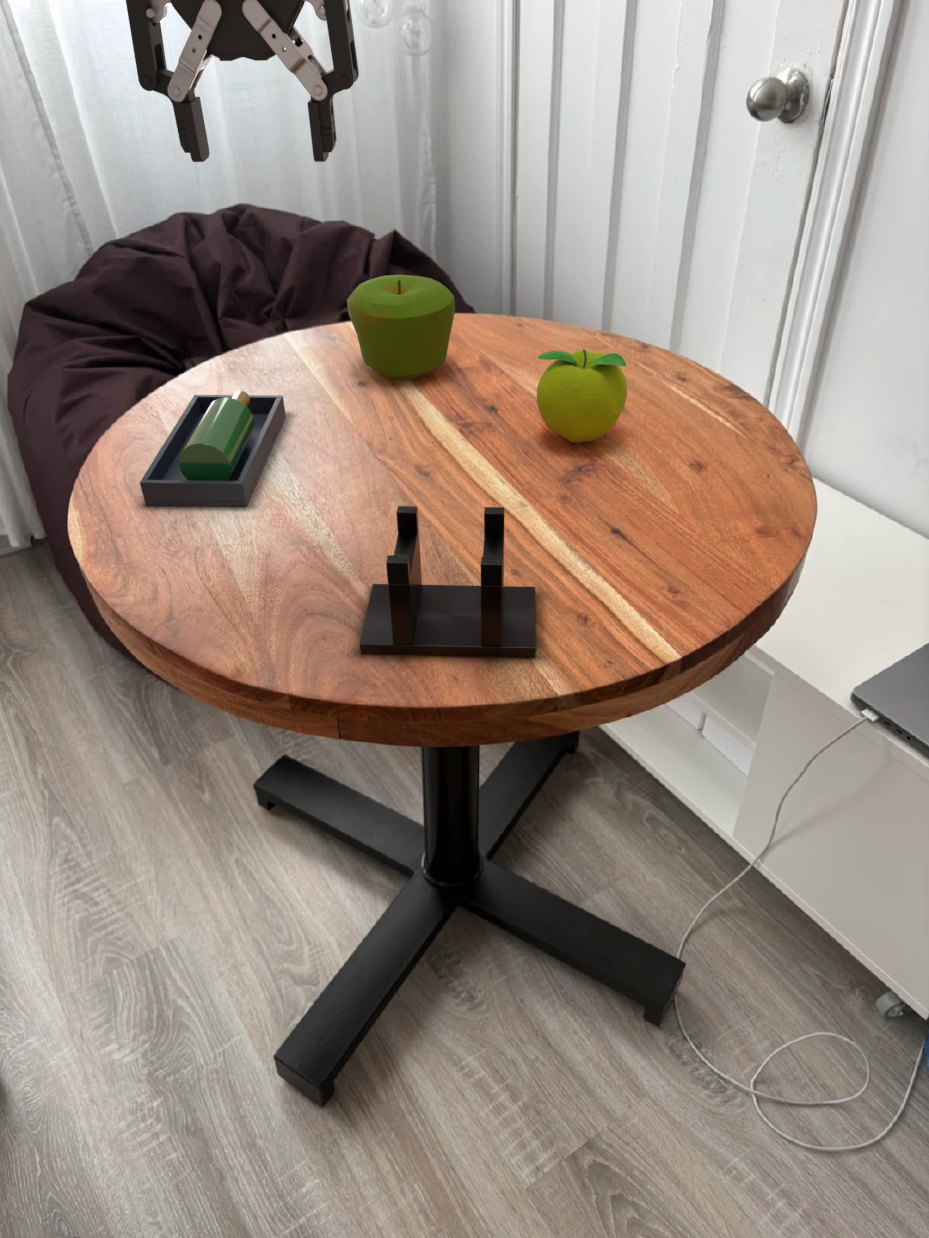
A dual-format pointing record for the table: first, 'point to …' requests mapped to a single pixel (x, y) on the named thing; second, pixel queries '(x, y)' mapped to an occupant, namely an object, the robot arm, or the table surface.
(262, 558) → the table surface
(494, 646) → the rack
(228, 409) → the green bottle
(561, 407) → the fruit
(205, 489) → the tray
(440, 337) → the apple
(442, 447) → the table surface
